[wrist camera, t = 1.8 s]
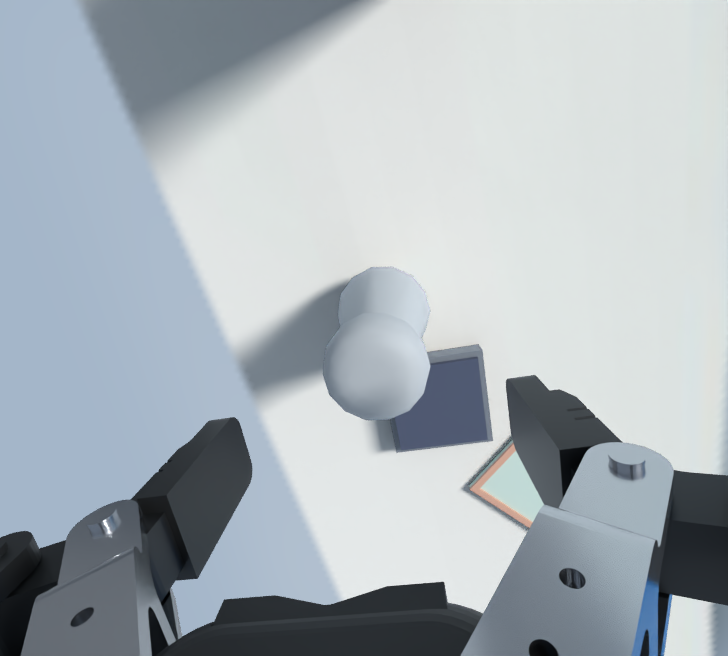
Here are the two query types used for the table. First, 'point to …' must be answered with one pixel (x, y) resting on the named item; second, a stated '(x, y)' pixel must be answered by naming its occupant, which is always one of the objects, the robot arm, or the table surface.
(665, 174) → the table surface
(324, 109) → the table surface
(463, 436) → the ink pad
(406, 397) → the salt shaker
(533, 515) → the marked square
